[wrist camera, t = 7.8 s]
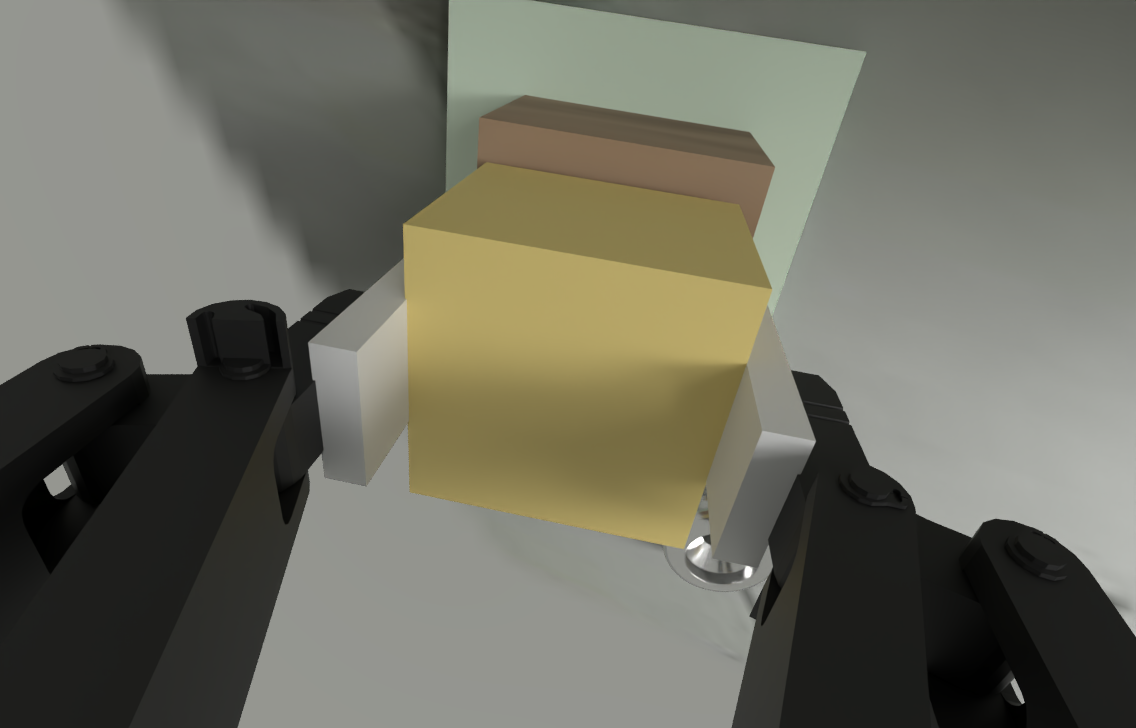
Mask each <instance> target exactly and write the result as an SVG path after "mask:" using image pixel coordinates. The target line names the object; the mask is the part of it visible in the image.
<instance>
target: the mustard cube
mask: <svg viewBox="0 0 1136 728" xmlns="http://www.w3.org/2000/svg"><path fill="white" fill-rule="evenodd" d="M403 244H404V284H405V299H407V343H408V398H409V422H408V445H409V485H410V492H411V493H416V494H421V495H426V496H431V497H435V498H440V499H445V500H449V501H454V502H459V503H464V504H469V505H474V506H478V507H483V508H488V509H493V510H498V511H502V512H507V513H512V514H517V515H522V516H526V517H531V518H536V519H541V520H546V521H551V522H555V523H560V524H565V525H570V526H575V527H579V528H584V529H589V530H594V531H599V532H603V533H608V534H613V535H618V536H623V537H628V538H632V539H637V540H642V541H647V542H652V543H656V544H661V545H666V546H671V547H676V548H680V549H684V547H685V544H686V541H687V538H688V535H689V532H690V530H691V527H692V524H693V521H694V518H695V515H696V512H697V509H698V506H699V503H700V500H701V497H702V494H703V491H704V489H705V486H706V480H707V477H708V474H709V471H710V468H711V466H712V463H713V460H714V457H715V454H716V451H717V448H718V445H719V443H720V440H721V437H722V434H723V431H724V428H725V425H726V422H727V419H728V417H729V414H730V411H731V408H732V405H733V402H734V399H735V396H736V394H737V391H738V388H739V385H740V382H741V379H742V376H743V373H744V370H745V368H746V365H747V363H748V360H749V357H750V354H751V351H752V348H753V345H754V342H755V339H756V336H757V333H758V330H759V328H760V325H761V322H762V319H763V316H764V313H765V310H766V307H767V304H768V301H769V298H770V295H771V292H772V287H771V284H770V282H769V279H768V277H767V274H766V271H765V269H764V266H763V264H762V261H761V259H760V256H759V254H758V251H757V249H756V246H755V243H754V241H753V238H752V236H751V233H750V231H749V228H748V226H747V223H746V220H745V218H744V215H743V213H742V210H741V208H740V205H739V204H733V203H727V202H721V201H715V200H709V199H703V198H697V197H691V196H685V195H679V194H673V193H667V192H661V191H655V190H649V189H643V188H638V187H632V186H626V185H620V184H614V183H608V182H602V181H596V180H590V179H584V178H578V177H572V176H566V175H560V174H554V173H548V172H542V171H536V170H530V169H524V168H518V167H512V166H506V165H500V164H494V163H489V162H486V163H485V164H483V165H482V166H481V167H479V168H478V169H477V170H475V171H474V172H473V173H471V174H470V175H469V176H467V177H466V178H465V179H463V180H462V181H460V182H459V183H458V184H456V185H455V186H454V187H452V188H451V189H450V190H448V191H447V192H446V193H444V194H443V195H442V196H440V197H439V198H438V199H436V200H435V201H434V202H432V203H431V204H429V205H428V206H427V207H425V208H424V209H423V210H421V211H420V212H419V213H417V214H416V215H415V216H413V217H412V218H411V219H409V220H408V221H407V222H405V223H404V224H403Z"/></svg>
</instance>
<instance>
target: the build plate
mask: <svg viewBox="0 0 1136 728" xmlns="http://www.w3.org/2000/svg"><path fill="white" fill-rule="evenodd" d="M865 55H866V52H864V51H857V50H851V49H844V48H838V47H831V46H825V45H818V44H812V43H805V42H799V41H792V40H786V39H779V38H773V37H766V36H760V35H753V34H747V33H740V32H734V31H727V30H721V29H714V28H708V27H701V26H695V25H688V24H682V23H675V22H668V21H662V20H655V19H649V18H642V17H636V16H629V15H623V14H616V13H610V12H603V11H597V10H590V9H584V8H577V7H571V6H564V5H558V4H551V3H545V2H538V1H532V0H449V28H448V86H447V143H446V192H447V191H448V190H450V189H451V188H452V187H454V186H455V185H456V184H458V183H459V182H460V181H462V180H463V179H465V178H466V177H467V176H469V175H470V174H471V173H473V172H474V171H475V170H477V156H478V134H479V117H481V116H483V115H485V114H487V113H489V112H491V111H493V110H495V109H497V108H499V107H502V106H504V105H506V104H508V103H510V102H512V101H514V100H516V99H518V98H520V97H522V96H524V95H528V96H534V97H540V98H546V99H552V100H559V101H565V102H571V103H577V104H583V105H589V106H595V107H601V108H607V109H613V110H619V111H625V112H631V113H638V114H644V115H650V116H656V117H662V118H668V119H674V120H680V121H686V122H692V123H698V124H704V125H710V126H716V127H723V128H729V129H735V130H741V131H747V132H750V133H751V134H752V135H753V137H754V138H755V140H756V141H757V142H758V144H759V145H760V147H761V148H762V149H763V151H764V152H765V154H766V155H767V156H768V158H769V159H770V160H771V162H772V163H773V165H774V166H775V170H774V173H773V176H772V179H771V182H770V186H769V189H768V192H767V195H766V198H765V202H764V205H763V208H762V211H761V215H760V218H759V221H758V224H757V227H756V231H755V234H754V237H753V241H754V243H755V246H756V249H757V251H758V254H759V256H760V259H761V261H762V264H763V266H764V269H765V271H766V274H767V277H768V279H769V282H770V284H771V287H772V292H771V295H770V298H769V301H768V304H767V305H768V308H769V310H770V313H771V316H773V313H774V310H775V307H776V304H777V302H778V299H779V296H780V293H781V290H782V288H783V285H784V282H785V279H786V276H787V274H788V271H789V268H790V265H791V262H792V260H793V257H794V254H795V251H796V248H797V246H798V243H799V240H800V237H801V234H802V232H803V229H804V226H805V223H806V220H807V218H808V215H809V212H810V209H811V206H812V204H813V201H814V198H815V195H816V192H817V190H818V187H819V184H820V181H821V178H822V176H823V173H824V170H825V167H826V164H827V162H828V159H829V156H830V153H831V150H832V148H833V145H834V142H835V139H836V136H837V134H838V131H839V128H840V125H841V122H842V120H843V117H844V114H845V111H846V108H847V106H848V103H849V100H850V97H851V94H852V92H853V89H854V86H855V83H856V80H857V78H858V75H859V72H860V69H861V66H862V64H863V61H864V58H865Z"/></svg>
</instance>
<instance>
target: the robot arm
mask: <svg viewBox="0 0 1136 728" xmlns="http://www.w3.org/2000/svg"><path fill="white" fill-rule="evenodd" d="M186 321H187V325H188V329H189V333H190V336H191V341H192V345H193V349H194V353H195V357H196V361H197V365H198V367H197V368H196V369H195V371H194V372H193V374H185V375H183V374H176V375H175V374H170V375H169V374H165V375H164V374H163V375H161V374H160V375H159V374H150V375H149V374H146V372H145V368H144V365H143V362H142V359H141V356H140V355H139V354H138V353H137V352H136V351H135V350H133V349H129V348H126V347H123V346H114V345H91V346H89V345H87V346H80V347H76V348H74V349H72V350H68V351H64V352H61V353H58V354H56V355H54V356H51V357H49V358H47V359H45V360H42V361H40V362H39V363H37V364H35V365H34V366H32V367H30V368H29V369H27V370H25V371H23V372H22V373H20V374H18V375H17V376H15V377H13V378H12V379H10V380H8V381H6V382H5V383H3V384H1V385H0V728H237V727H238V724H239V721H240V718H241V714H242V711H243V707H244V704H245V701H246V698H247V695H248V691H249V688H250V685H251V681H252V678H253V675H254V672H255V668H256V665H257V662H258V659H259V655H260V652H261V649H262V645H263V642H264V639H265V636H266V632H267V629H268V626H269V622H270V619H271V616H272V612H273V609H274V606H275V603H276V600H277V596H278V593H279V590H280V586H281V583H282V580H283V577H284V573H285V570H286V567H287V563H288V560H289V557H290V554H291V550H292V547H293V543H294V540H295V537H296V534H297V531H298V527H299V524H300V521H301V518H302V514H303V511H304V508H305V504H306V501H307V498H308V495H309V486H310V483H309V482H310V481H309V474H308V469H309V468H310V466H311V465H312V464H313V463H314V462H315V460H316V459H317V458H318V457H319V455H320V454H321V453H322V460H323V468H324V476H325V478H329V479H334V480H338V481H343V482H348V483H353V484H358V485H362V486H367V485H368V483H369V482H370V480H371V479H372V477H373V476H374V474H375V473H376V471H377V470H378V468H379V466H380V465H381V463H382V462H383V460H384V459H385V457H386V456H387V454H388V453H389V451H390V450H391V448H392V447H393V445H394V443H395V442H396V440H397V439H398V437H399V436H400V434H401V433H402V431H403V430H404V428H405V427H406V425H407V424H408V422H409V398H408V343H407V299H405V284H404V258H403V259H402V260H401V261H400V262H399V263H397V264H396V265H395V266H394V267H393V268H392V269H391V270H390V271H388V272H387V273H386V274H385V275H384V276H383V277H382V278H380V279H379V280H378V281H377V282H376V283H375V284H374V285H373V286H371V287H370V288H369V289H368V290H367V291H366V292H362V291H356V290H351V289H348V290H346V291H343V292H340V293H338V294H335V295H332V296H330V297H327V298H326V299H324V300H323V301H322V302H321V303H319V304H318V305H317V306H316V307H314V308H313V311H312V312H311V311H309V312H308V313H307V314H306V315H304V316H303V317H302V318H301V320H300V321H297V322H296V323H295V324H293V325H292V326H291V327H290V328H287V321H286V314H285V313H284V312H283V311H282V310H281V309H280V307H278V306H275V305H272V304H270V303H267V302H262V301H254V300H235V301H227V302H221V303H215V304H211V305H209V306H206V307H203V308H201V309H198V310H196V311H195V312H193V313H192V314H191V315H189V316H188V317H187V318H186ZM62 464H63V466H64V468H65V471H66V473H67V475H68V477H69V480H70V482H71V485H70V486H69V487H68V488H66V489H65V490H64V491H63V492H61V493H59V494H57V495H55V496H52V495H51V494H50V492H49V490H48V488H47V486H46V484H45V482H44V480H43V479H44V478H45V477H47V476H48V475H49V474H50V473H52V472H53V471H54V470H55V469H57V468H58V467H59V466H60V465H62ZM706 489H707V501H708V513H709V525H710V537H711V549H712V559H717V560H722V561H726V562H731V563H736V564H741V565H746V566H750V567H755V568H758V566H759V564H760V562H761V560H762V558H763V555H764V553H765V551H766V549H767V547H768V545H769V549H770V554H771V559H772V564H773V568H772V570H771V572H770V574H769V576H768V578H767V580H766V583H765V585H764V587H763V589H762V591H761V593H760V595H759V597H758V599H757V601H756V603H755V605H754V607H753V610H752V612H751V614H750V617H752V618H754V619H756V622H755V627H754V631H753V635H752V640H751V644H750V649H749V653H748V658H747V662H746V666H745V671H744V675H743V680H742V684H741V689H740V693H739V697H738V702H737V706H736V711H735V715H734V720H733V725H732V728H1136V637H1135V635H1134V634H1133V632H1132V631H1131V629H1130V628H1129V627H1128V625H1127V624H1126V622H1125V621H1124V619H1123V618H1122V617H1121V615H1120V614H1119V612H1118V611H1117V609H1116V608H1115V607H1114V605H1113V604H1112V602H1111V601H1110V599H1109V598H1108V597H1107V595H1106V594H1105V592H1104V591H1103V589H1102V588H1101V587H1100V585H1099V584H1098V582H1097V581H1096V579H1095V578H1094V577H1093V575H1092V574H1091V572H1090V571H1089V570H1088V569H1087V568H1086V566H1085V565H1084V564H1083V563H1082V562H1081V561H1080V560H1079V559H1078V558H1077V557H1076V555H1075V554H1073V553H1072V552H1071V551H1069V550H1068V549H1067V548H1065V547H1064V546H1063V545H1061V544H1060V543H1059V542H1058V541H1057V540H1056V539H1054V538H1052V537H1051V536H1049V535H1047V534H1044V533H1043V532H1042V531H1039V530H1037V529H1035V528H1032V527H1029V526H1026V525H1023V524H1020V523H1017V522H1015V521H1009V520H1000V519H993V520H990V521H986V522H983V524H982V525H981V526H980V528H979V529H978V530H977V532H976V533H975V535H974V536H973V537H972V538H971V537H969V536H966V535H964V534H961V533H959V532H956V531H954V530H952V529H949V528H947V527H944V526H942V525H939V524H937V523H934V522H932V521H930V520H927V519H925V518H923V517H921V516H919V515H917V514H916V511H915V506H914V504H913V501H912V498H911V496H910V495H909V494H908V493H907V491H906V490H905V489H904V488H903V487H902V486H901V485H900V483H898V482H897V481H895V480H894V479H893V478H891V477H890V476H889V475H887V474H886V473H884V472H882V471H880V470H878V469H876V468H874V467H872V466H870V465H869V463H868V461H867V459H866V457H865V454H864V452H863V450H862V448H861V446H860V444H859V441H858V439H857V437H856V435H855V433H854V430H853V428H852V426H851V425H849V420H848V417H847V415H846V413H845V411H843V406H842V404H841V402H840V400H839V398H838V395H837V393H836V391H834V390H833V389H832V388H831V387H830V386H829V385H828V384H827V383H826V382H825V381H824V380H823V379H822V378H821V377H820V376H819V375H813V374H808V373H803V372H798V371H792V370H791V369H790V367H789V364H788V361H787V358H786V355H785V353H784V350H783V347H782V344H781V341H780V339H779V336H778V333H777V330H776V327H775V325H774V322H773V319H772V316H771V313H770V310H769V308H768V305H767V307H766V310H765V313H764V316H763V319H762V322H761V325H760V328H759V330H758V333H757V336H756V339H755V342H754V345H753V348H752V351H751V354H750V357H749V360H748V363H747V365H746V368H745V370H744V373H743V376H742V379H741V382H740V385H739V388H738V391H737V394H736V396H735V399H734V402H733V405H732V408H731V411H730V414H729V417H728V419H727V422H726V425H725V428H724V431H723V434H722V437H721V440H720V443H719V445H718V448H717V451H716V454H715V457H714V460H713V463H712V466H711V468H710V471H709V474H708V477H707V480H706ZM1014 678H1015V679H1016V681H1017V684H1018V686H1019V688H1020V690H1021V692H1022V695H1023V698H1024V701H1025V703H1023V704H1021V702H1020V701H1019V699H1018V697H1017V696H1016V694H1015V691H1014V689H1013V687H1012V685H1011V683H1010V682H1011V681H1012V680H1013V679H1014Z"/></svg>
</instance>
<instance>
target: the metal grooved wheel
mask: <svg viewBox="0 0 1136 728" xmlns="http://www.w3.org/2000/svg"><path fill="white" fill-rule="evenodd" d="M663 551H664V555H665V558H666V560H667V562H668V564H669V566H670V567H671V569H672V570H673V571H674V572H675V573H676V574H677V575H678V576H679V577H680V578H682V579H683V580H685V581H686V582H688V583H690V584H692V585H694V586H696V587H699V588H702V589H705V590H710V591H716V592H734V591H740V590H744V589H748V588H751V587H753V586H755V585H757V584H759V583H761V582H763V581H764V580H765V579H767V578H768V576H769V574H770V572H771V570H772V568H773V564H772V559H771V554H770V549H769V545H768V547H767V549H766V551H765V553H764V555H763V558H762V560H761V562H760V564H759V566H758V568H755V567H750V566H746V565H741V564H736V563H731V562H726V561H722V560H717V559H712V549H711V537H710V525H709V513H708V501H707V489H706V486H705V489H704V491H703V494H702V497H701V500H700V503H699V506H698V509H697V512H696V515H695V518H694V521H693V524H692V527H691V530H690V532H689V535H688V538H687V541H686V544H685V547H684V549H680V548H676V547H671V546H666V545H663Z"/></svg>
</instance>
